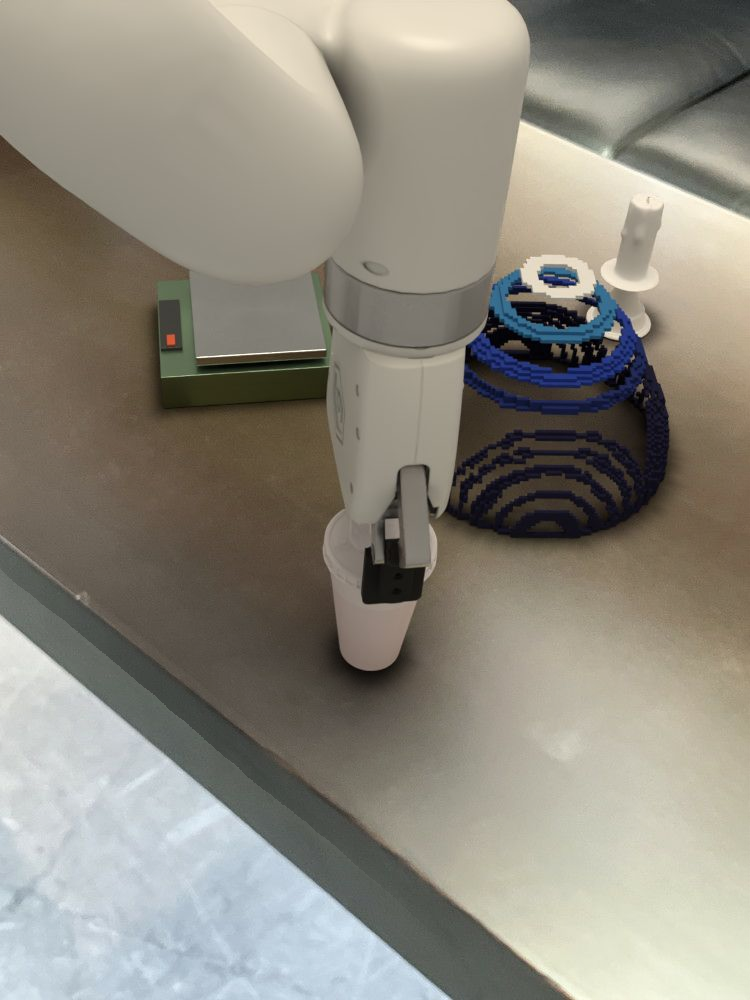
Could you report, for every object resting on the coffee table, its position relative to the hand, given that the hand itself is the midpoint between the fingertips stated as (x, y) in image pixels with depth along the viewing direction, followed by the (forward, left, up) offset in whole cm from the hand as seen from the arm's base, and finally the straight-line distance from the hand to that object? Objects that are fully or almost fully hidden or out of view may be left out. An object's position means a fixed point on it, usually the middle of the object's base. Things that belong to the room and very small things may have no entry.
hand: (380, 547), depth 64 cm
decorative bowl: (+15, +18, -10) cm, 25 cm away
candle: (+26, +31, -10) cm, 41 cm away
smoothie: (0, 0, -9) cm, 9 cm away
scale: (-5, +30, -10) cm, 32 cm away
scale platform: (-5, +30, -6) cm, 31 cm away
